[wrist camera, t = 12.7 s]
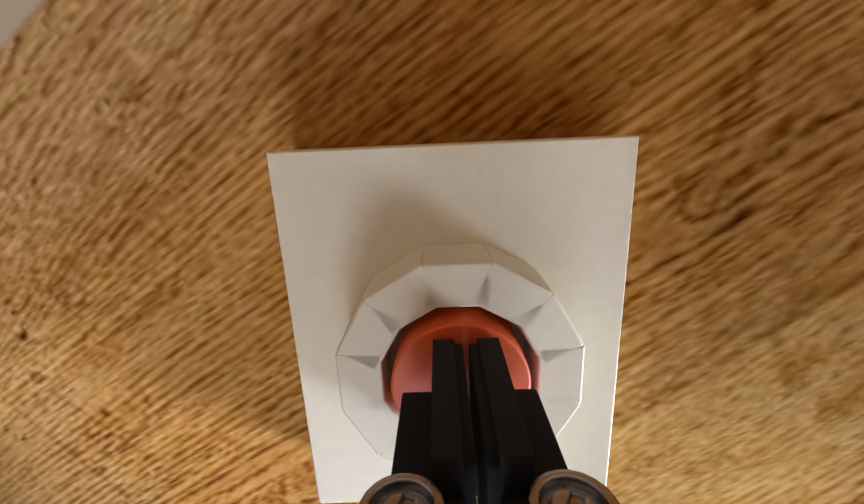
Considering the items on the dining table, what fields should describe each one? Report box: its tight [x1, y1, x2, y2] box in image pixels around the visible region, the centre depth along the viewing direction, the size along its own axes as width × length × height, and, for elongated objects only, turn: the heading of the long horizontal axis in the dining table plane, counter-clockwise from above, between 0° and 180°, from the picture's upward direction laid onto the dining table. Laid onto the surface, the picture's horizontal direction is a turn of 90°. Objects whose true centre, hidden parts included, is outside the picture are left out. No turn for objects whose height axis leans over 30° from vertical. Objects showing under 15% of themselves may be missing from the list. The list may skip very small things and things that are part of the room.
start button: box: [391, 306, 531, 413], centre depth 11 cm, size 4×4×2 cm
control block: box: [266, 136, 639, 503], centre depth 13 cm, size 12×10×4 cm
